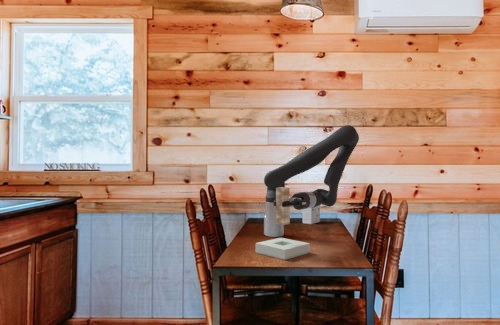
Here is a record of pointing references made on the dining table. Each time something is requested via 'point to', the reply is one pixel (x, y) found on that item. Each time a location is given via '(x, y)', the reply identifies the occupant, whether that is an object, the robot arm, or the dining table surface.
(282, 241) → the socket block
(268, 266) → the dining table surface
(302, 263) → the dining table surface
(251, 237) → the dining table surface
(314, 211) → the light bulb box
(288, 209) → the peg
